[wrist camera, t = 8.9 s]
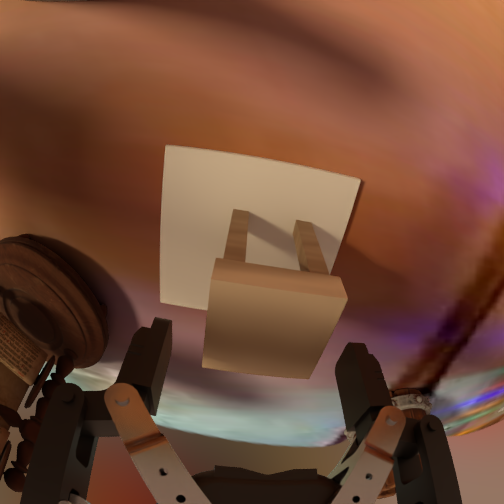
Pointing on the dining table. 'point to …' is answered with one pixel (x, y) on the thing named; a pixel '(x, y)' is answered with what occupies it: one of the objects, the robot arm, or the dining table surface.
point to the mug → (412, 407)
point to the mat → (248, 199)
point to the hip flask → (55, 0)
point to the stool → (270, 308)
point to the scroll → (40, 339)
